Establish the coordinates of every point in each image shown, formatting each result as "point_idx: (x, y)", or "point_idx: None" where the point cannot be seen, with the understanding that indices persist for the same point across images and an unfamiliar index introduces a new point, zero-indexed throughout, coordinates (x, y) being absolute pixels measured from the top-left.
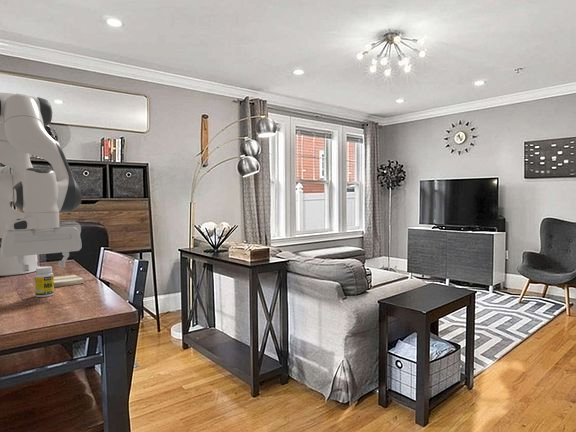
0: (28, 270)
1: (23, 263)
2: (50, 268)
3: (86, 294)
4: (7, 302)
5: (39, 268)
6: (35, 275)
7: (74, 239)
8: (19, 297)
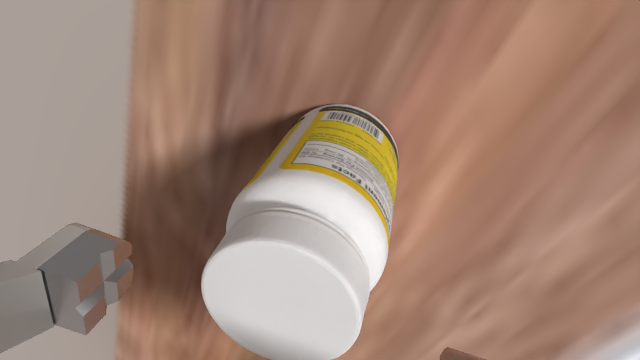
0: (126, 286)
1: (16, 340)
2: (323, 355)
3: (487, 341)
4: (140, 130)
5: (221, 318)
6: (226, 229)
7: None
8: (214, 55)
